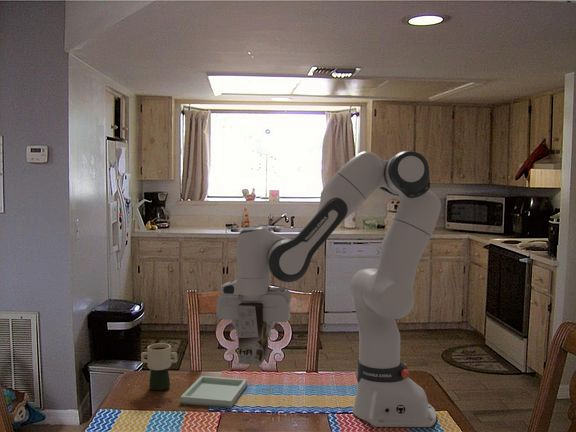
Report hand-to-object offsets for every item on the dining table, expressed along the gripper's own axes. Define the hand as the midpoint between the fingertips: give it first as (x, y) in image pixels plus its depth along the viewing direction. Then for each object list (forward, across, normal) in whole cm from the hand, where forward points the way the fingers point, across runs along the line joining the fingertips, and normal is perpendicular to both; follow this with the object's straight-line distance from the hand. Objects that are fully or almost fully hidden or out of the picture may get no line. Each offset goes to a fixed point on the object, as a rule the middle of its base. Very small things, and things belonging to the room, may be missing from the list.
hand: (253, 336), depth 160 cm
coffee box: (+7, 0, 0) cm, 7 cm away
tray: (+21, +14, -9) cm, 27 cm away
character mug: (+21, +32, -10) cm, 40 cm away
